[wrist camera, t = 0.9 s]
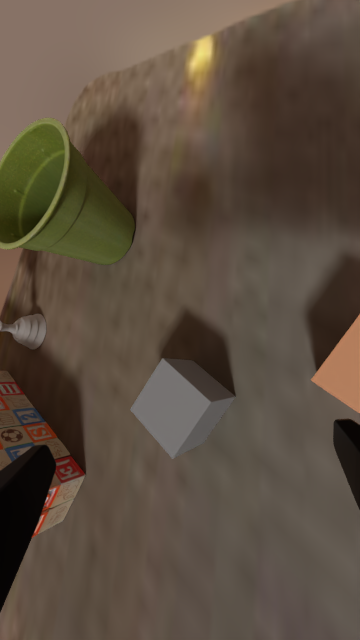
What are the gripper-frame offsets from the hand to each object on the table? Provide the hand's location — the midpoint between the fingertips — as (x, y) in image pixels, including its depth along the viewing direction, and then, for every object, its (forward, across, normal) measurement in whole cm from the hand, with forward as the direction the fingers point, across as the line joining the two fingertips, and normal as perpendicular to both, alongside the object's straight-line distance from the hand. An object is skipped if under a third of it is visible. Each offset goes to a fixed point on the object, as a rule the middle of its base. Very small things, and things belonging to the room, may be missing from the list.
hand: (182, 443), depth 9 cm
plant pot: (+27, +9, -5) cm, 29 cm away
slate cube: (+14, +1, +9) cm, 16 cm away
